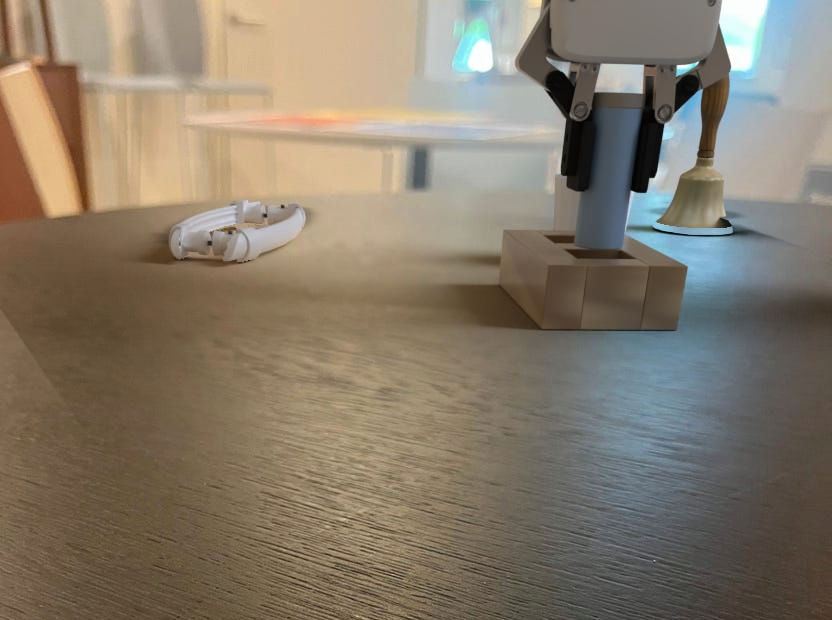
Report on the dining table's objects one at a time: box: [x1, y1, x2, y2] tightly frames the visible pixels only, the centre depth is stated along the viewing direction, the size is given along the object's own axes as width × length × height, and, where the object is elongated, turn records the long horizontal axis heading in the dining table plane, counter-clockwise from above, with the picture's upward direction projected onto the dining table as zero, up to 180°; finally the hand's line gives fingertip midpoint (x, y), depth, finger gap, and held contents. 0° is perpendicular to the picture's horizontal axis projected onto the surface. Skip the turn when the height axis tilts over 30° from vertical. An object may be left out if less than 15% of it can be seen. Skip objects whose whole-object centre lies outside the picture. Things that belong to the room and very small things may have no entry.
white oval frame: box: [168, 199, 307, 263], centre depth 94 cm, size 3×10×25 cm
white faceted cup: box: [553, 173, 635, 232], centre depth 87 cm, size 7×7×7 cm
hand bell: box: [655, 73, 733, 228], centre depth 104 cm, size 8×8×16 cm
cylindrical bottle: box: [574, 91, 646, 250], centre depth 66 cm, size 3×3×9 cm
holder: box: [498, 229, 689, 331], centre depth 72 cm, size 9×16×4 cm, turn 3°
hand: (606, 187), depth 66 cm, fingers closed on cylindrical bottle, 3 cm apart
